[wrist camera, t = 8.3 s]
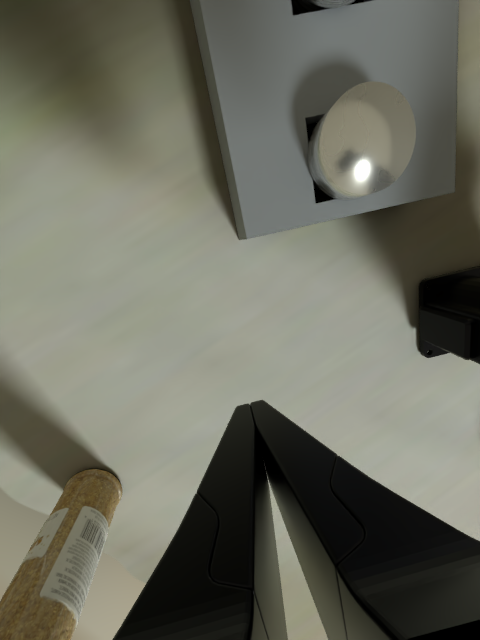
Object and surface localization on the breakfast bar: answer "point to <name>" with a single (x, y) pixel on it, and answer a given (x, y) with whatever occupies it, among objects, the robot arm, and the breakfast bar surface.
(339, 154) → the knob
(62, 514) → the sprinkles bottle
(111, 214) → the breakfast bar surface
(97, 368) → the breakfast bar surface
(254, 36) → the mount
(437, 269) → the breakfast bar surface
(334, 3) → the knob middle
